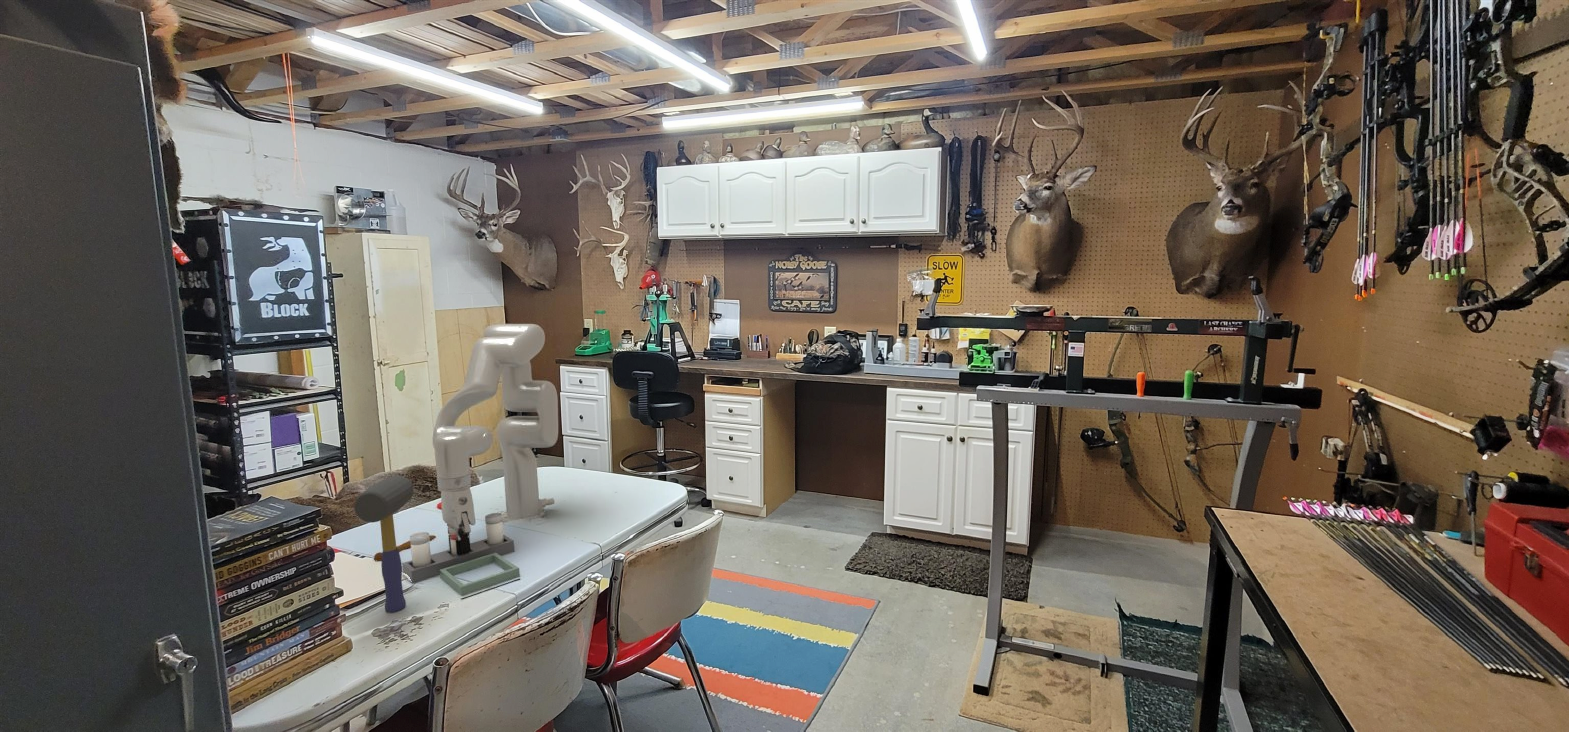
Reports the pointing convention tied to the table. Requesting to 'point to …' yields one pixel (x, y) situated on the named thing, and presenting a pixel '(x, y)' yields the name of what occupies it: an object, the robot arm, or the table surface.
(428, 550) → the cylinder
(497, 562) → the tray
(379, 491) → the rubber mallet
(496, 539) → the cylinder
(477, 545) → the fuse holder
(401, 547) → the primitive tool
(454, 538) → the cylinder
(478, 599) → the table surface
